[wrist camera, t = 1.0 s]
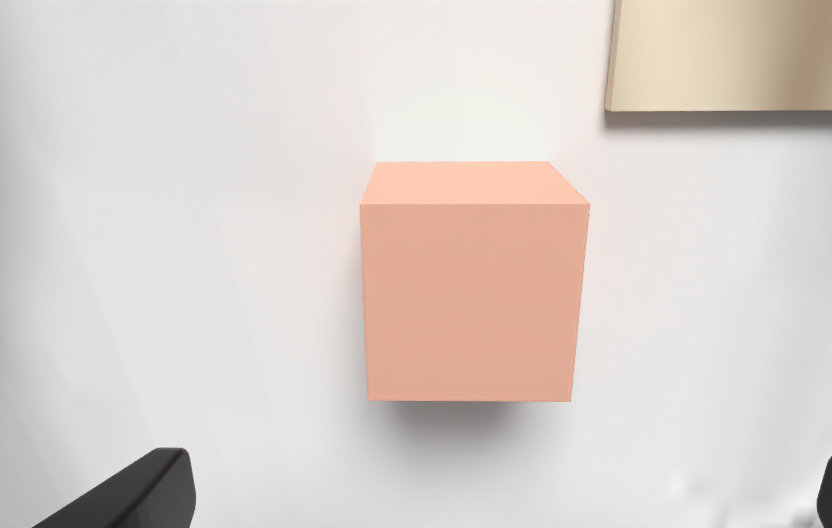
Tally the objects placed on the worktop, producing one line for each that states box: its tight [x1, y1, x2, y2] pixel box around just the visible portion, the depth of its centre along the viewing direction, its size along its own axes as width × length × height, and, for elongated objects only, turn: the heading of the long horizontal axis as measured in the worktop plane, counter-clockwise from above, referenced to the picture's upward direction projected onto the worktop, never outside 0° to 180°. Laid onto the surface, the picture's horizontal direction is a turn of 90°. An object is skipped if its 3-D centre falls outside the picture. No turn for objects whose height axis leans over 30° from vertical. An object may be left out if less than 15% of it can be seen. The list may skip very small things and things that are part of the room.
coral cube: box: [360, 161, 590, 402], centre depth 16 cm, size 5×5×5 cm
